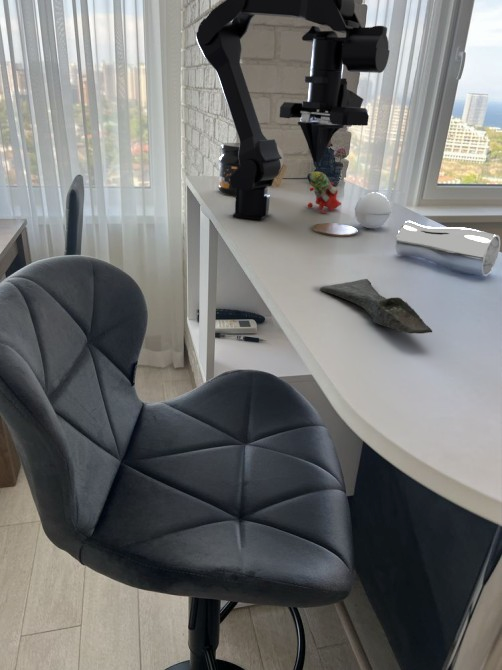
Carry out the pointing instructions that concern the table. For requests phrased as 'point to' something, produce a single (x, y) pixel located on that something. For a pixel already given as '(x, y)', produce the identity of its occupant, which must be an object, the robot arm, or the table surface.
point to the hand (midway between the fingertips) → (316, 162)
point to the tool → (380, 306)
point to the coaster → (335, 229)
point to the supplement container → (228, 167)
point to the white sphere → (372, 210)
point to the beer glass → (450, 247)
